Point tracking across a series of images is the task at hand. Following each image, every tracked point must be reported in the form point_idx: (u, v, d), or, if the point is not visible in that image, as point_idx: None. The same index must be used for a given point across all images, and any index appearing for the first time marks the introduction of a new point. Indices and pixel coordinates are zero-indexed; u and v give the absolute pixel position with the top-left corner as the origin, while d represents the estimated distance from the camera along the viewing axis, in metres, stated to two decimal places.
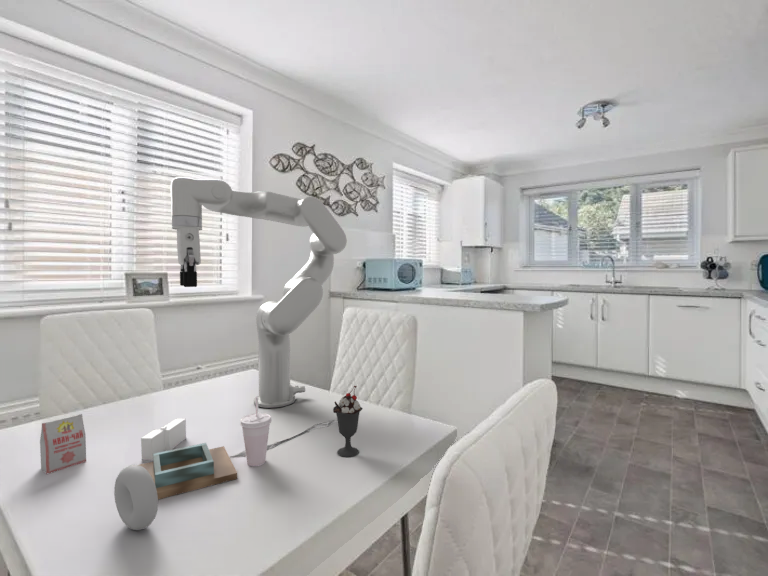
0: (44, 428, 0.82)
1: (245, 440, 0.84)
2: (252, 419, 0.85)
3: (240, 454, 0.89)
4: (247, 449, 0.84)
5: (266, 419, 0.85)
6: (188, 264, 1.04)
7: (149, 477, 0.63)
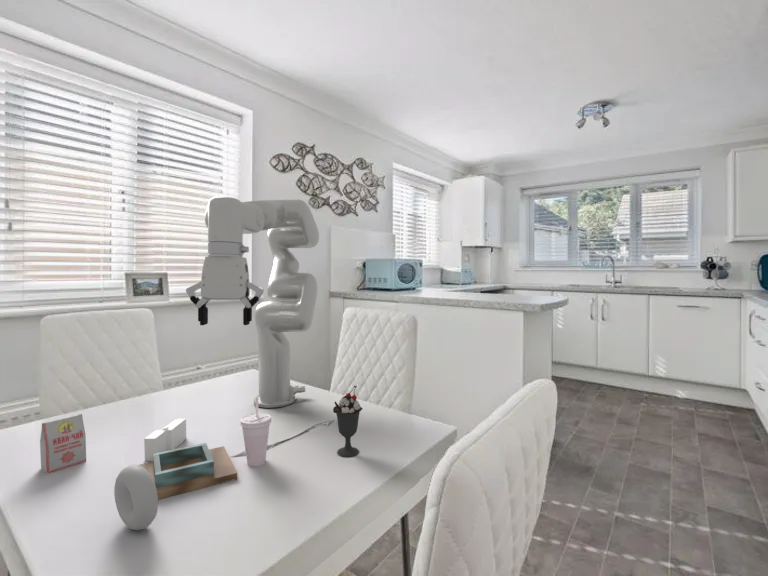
0: (44, 428, 0.82)
1: (245, 440, 0.84)
2: (252, 419, 0.85)
3: (240, 454, 0.89)
4: (247, 449, 0.84)
5: (266, 419, 0.85)
6: (257, 299, 0.94)
7: (149, 477, 0.63)
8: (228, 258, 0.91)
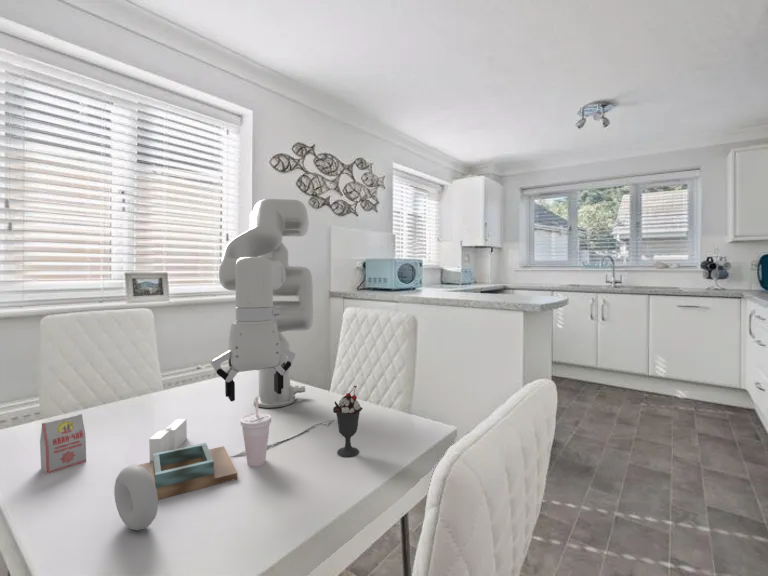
0: (44, 428, 0.82)
1: (245, 440, 0.84)
2: (252, 419, 0.85)
3: (240, 454, 0.89)
4: (247, 449, 0.84)
5: (266, 419, 0.85)
6: (290, 364, 0.88)
7: (149, 476, 0.63)
8: (264, 324, 0.83)
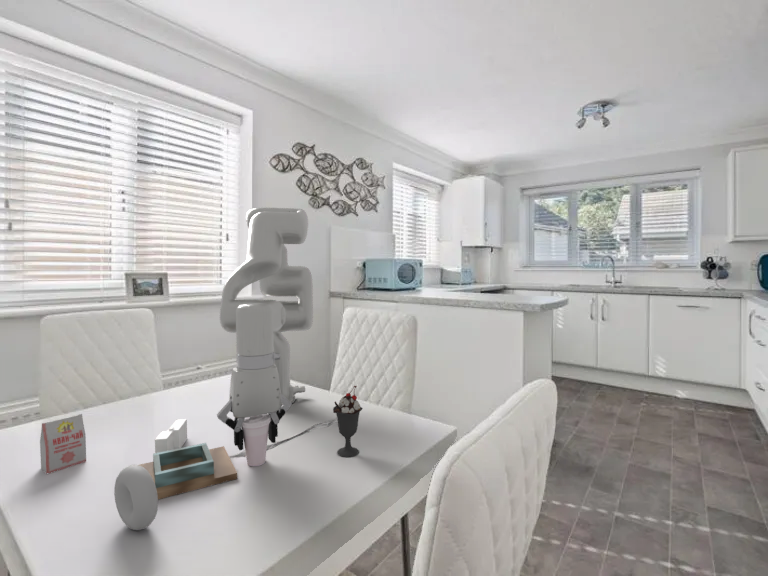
0: (44, 428, 0.82)
1: (245, 440, 0.84)
2: (251, 419, 0.85)
3: (240, 454, 0.89)
4: (247, 449, 0.84)
5: (265, 419, 0.85)
6: (284, 412, 0.88)
7: (149, 476, 0.63)
8: (265, 371, 0.84)
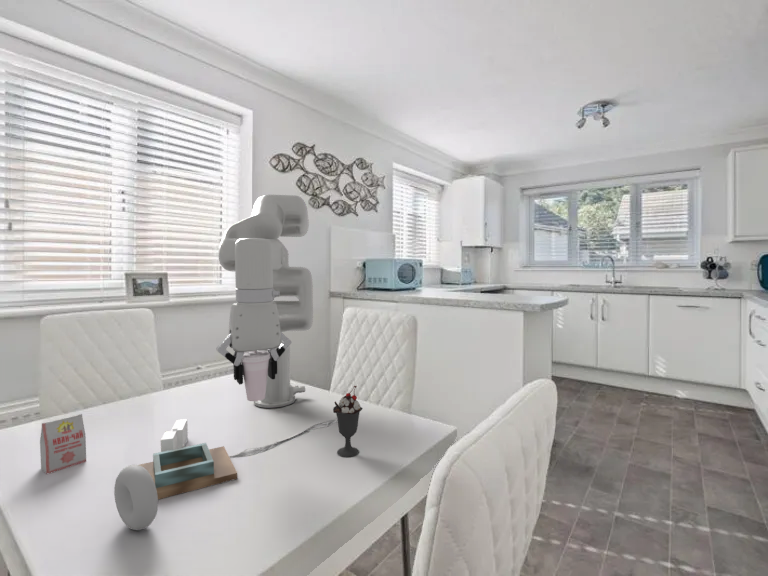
0: (44, 428, 0.82)
1: (244, 375, 0.84)
2: (251, 354, 0.84)
3: (240, 454, 0.89)
4: (246, 384, 0.84)
5: (265, 355, 0.85)
6: (284, 350, 0.88)
7: (149, 476, 0.63)
8: (264, 306, 0.84)
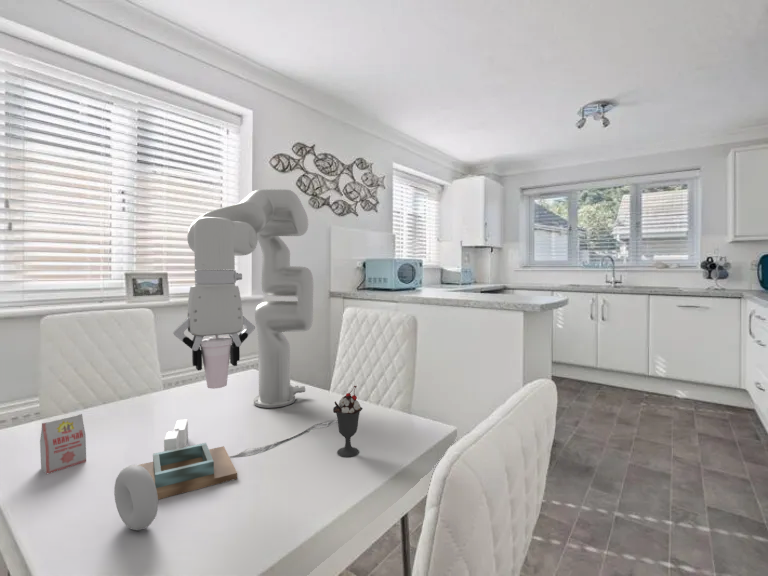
0: (44, 428, 0.82)
1: (204, 361, 0.80)
2: (211, 339, 0.81)
3: (240, 454, 0.89)
4: (206, 370, 0.80)
5: (226, 339, 0.81)
6: (247, 335, 0.85)
7: (149, 476, 0.63)
8: (225, 288, 0.80)
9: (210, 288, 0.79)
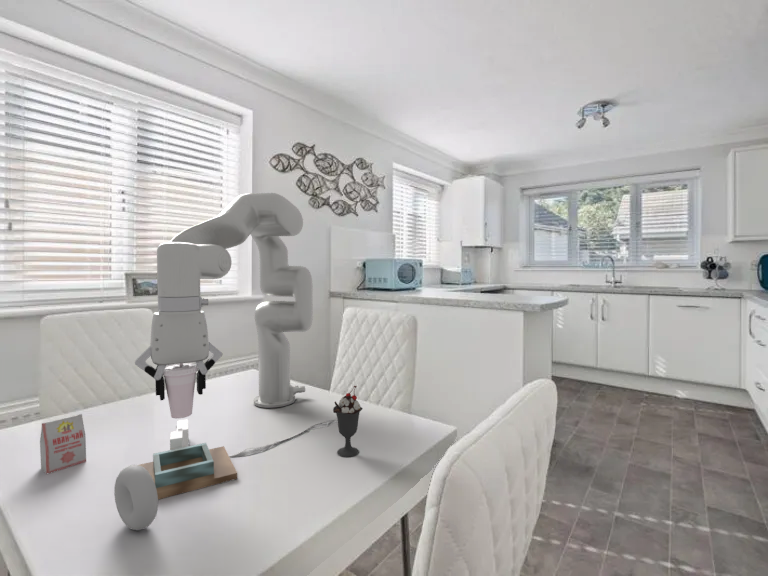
0: (44, 428, 0.82)
1: (167, 390, 0.78)
2: (175, 368, 0.78)
3: (240, 454, 0.89)
4: (169, 400, 0.78)
5: (190, 368, 0.79)
6: (214, 363, 0.82)
7: (149, 476, 0.63)
8: (189, 315, 0.78)
9: (173, 316, 0.76)
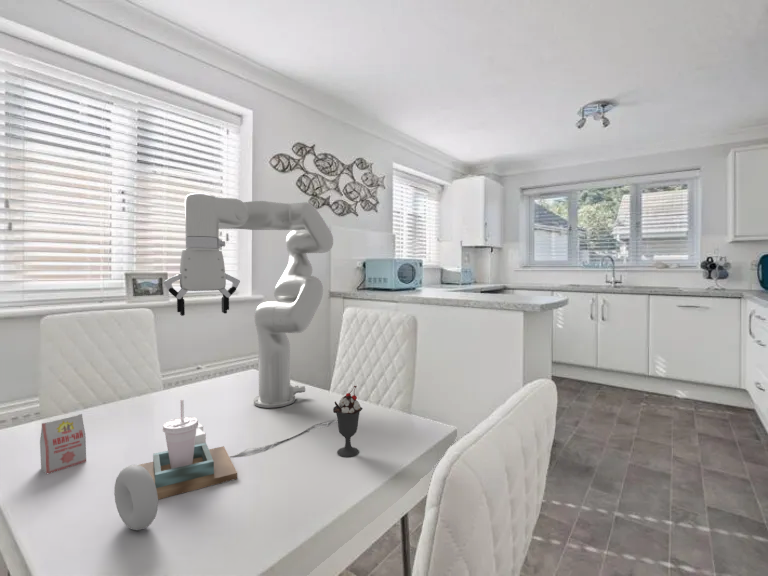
0: (44, 428, 0.82)
1: (168, 446, 0.78)
2: (175, 424, 0.79)
3: (240, 454, 0.89)
4: (170, 456, 0.78)
5: (191, 424, 0.79)
6: (235, 289, 1.03)
7: (149, 476, 0.63)
8: (210, 252, 0.98)
9: (198, 251, 0.96)
